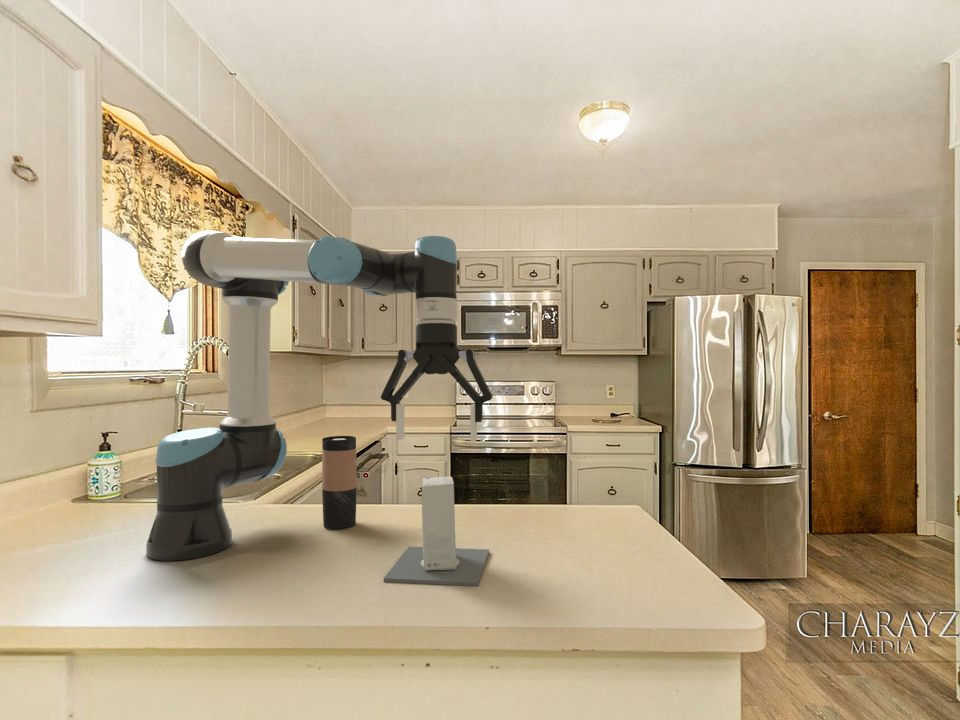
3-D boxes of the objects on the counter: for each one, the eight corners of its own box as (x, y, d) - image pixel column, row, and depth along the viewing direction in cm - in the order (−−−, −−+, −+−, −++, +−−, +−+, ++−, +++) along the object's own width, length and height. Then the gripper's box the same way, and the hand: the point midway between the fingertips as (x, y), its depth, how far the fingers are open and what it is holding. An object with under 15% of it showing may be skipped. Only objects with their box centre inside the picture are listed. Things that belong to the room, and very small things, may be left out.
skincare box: (456, 570, 93) (456, 484, 93) (421, 571, 93) (421, 485, 93) (454, 553, 102) (454, 474, 102) (422, 554, 101) (422, 475, 101)
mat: (383, 581, 90) (383, 577, 90) (408, 549, 106) (408, 545, 106) (477, 586, 88) (477, 581, 88) (489, 552, 104) (489, 548, 104)
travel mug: (361, 521, 126) (360, 435, 126) (350, 531, 118) (349, 440, 119) (329, 520, 127) (329, 435, 127) (316, 530, 119) (316, 440, 119)
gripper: (363, 322, 96) (363, 441, 96) (502, 320, 92) (503, 443, 92) (376, 325, 103) (377, 436, 103) (506, 323, 100) (506, 438, 100)
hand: (436, 440), depth 98 cm, fingers open, 13 cm apart
